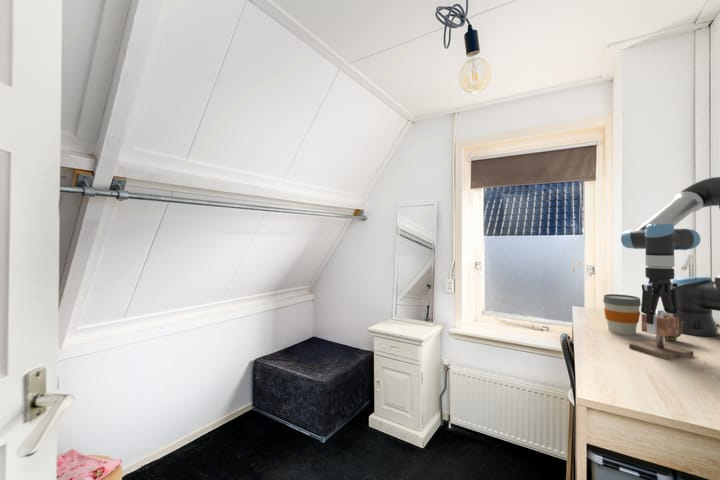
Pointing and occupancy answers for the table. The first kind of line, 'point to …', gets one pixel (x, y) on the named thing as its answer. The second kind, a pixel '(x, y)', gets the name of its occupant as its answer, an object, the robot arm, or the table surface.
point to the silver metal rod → (658, 338)
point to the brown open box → (664, 325)
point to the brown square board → (661, 350)
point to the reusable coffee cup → (622, 313)
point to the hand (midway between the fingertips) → (660, 332)
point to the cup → (673, 338)
